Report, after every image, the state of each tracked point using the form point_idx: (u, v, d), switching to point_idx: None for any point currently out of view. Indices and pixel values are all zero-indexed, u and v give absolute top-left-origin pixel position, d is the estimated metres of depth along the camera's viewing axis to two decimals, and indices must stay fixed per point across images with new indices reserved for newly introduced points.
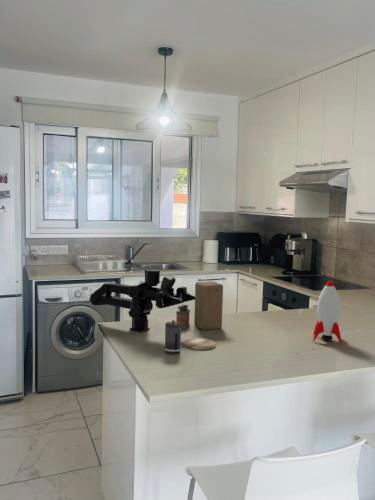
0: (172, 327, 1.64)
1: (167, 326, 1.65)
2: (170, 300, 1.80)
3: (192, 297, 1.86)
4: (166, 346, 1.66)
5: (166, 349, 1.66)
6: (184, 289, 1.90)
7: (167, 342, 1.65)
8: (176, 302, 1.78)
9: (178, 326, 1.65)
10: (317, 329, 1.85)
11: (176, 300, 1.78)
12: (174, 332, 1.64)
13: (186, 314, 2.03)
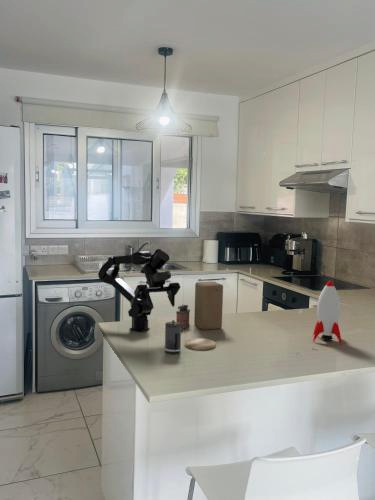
0: (172, 327, 1.64)
1: (167, 326, 1.65)
2: (146, 297, 1.80)
3: (172, 303, 1.83)
4: (166, 346, 1.66)
5: (166, 349, 1.66)
6: (174, 289, 1.85)
7: (167, 342, 1.65)
8: (148, 304, 1.79)
9: (178, 326, 1.65)
10: (317, 329, 1.85)
11: (149, 303, 1.79)
12: (174, 332, 1.64)
13: (186, 314, 2.03)
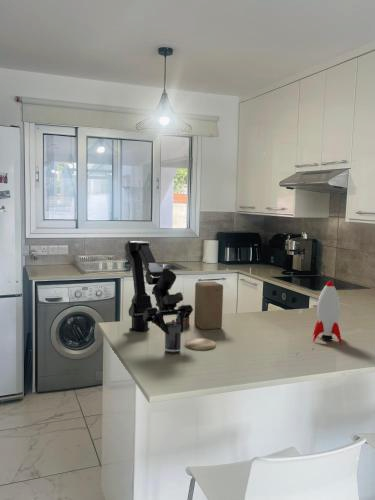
0: (172, 327, 1.64)
1: (167, 326, 1.65)
2: (160, 322, 1.67)
3: None
4: (166, 346, 1.66)
5: (166, 349, 1.66)
6: (182, 313, 1.70)
7: (167, 342, 1.65)
8: (162, 328, 1.66)
9: (178, 326, 1.65)
10: (317, 329, 1.85)
11: (163, 327, 1.65)
12: (174, 332, 1.64)
13: None
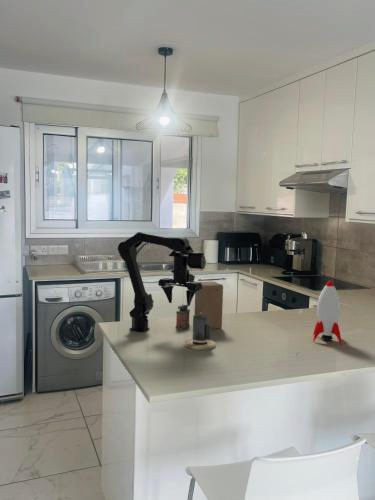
0: (203, 319, 1.73)
1: (198, 319, 1.73)
2: (191, 294, 1.86)
3: (171, 300, 1.92)
4: (196, 338, 1.74)
5: (196, 341, 1.74)
6: None
7: (198, 334, 1.73)
8: (189, 300, 1.86)
9: (207, 318, 1.75)
10: (317, 329, 1.85)
11: (190, 300, 1.86)
12: (205, 324, 1.73)
13: (186, 314, 2.03)
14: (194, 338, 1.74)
